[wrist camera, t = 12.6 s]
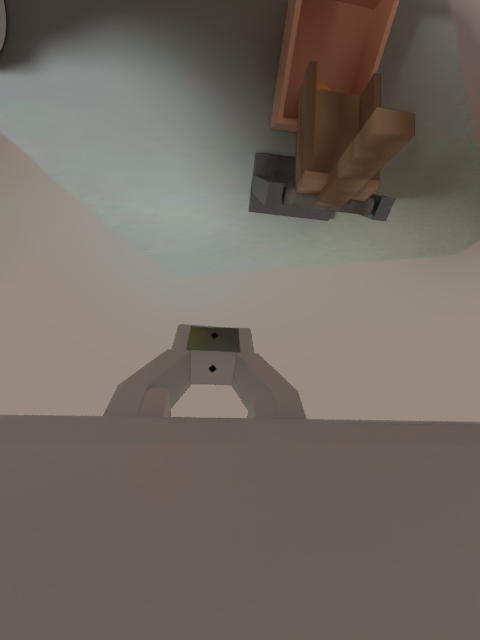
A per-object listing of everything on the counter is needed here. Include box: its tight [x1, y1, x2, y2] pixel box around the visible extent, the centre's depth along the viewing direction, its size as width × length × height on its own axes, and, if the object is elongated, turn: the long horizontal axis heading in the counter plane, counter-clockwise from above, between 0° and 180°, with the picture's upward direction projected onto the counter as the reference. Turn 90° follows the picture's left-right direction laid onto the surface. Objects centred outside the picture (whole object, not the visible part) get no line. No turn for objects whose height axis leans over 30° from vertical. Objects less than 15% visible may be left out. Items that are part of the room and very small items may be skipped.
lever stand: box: [249, 153, 395, 221], centre depth 32 cm, size 15×8×17 cm, turn 84°
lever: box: [281, 60, 415, 215], centre depth 22 cm, size 10×14×11 cm
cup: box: [270, 0, 400, 133], centre depth 26 cm, size 11×13×13 cm
